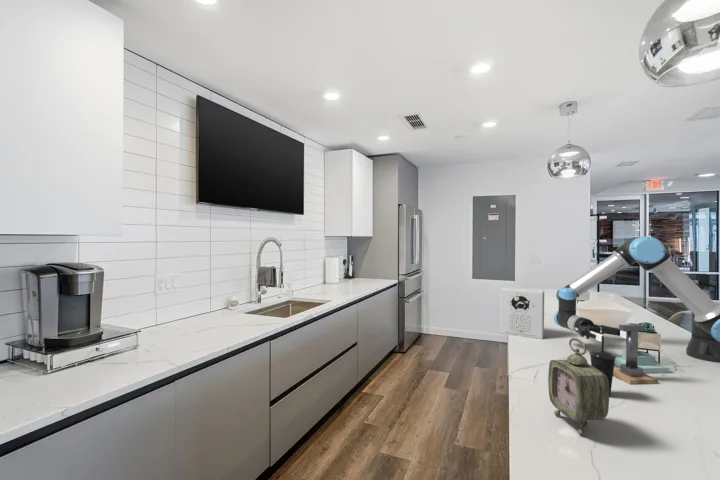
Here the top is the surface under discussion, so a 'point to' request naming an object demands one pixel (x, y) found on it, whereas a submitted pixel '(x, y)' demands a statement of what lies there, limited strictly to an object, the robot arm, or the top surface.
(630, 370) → the t key
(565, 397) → the tabletop clock
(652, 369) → the square socket base
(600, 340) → the robot arm
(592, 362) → the drinking cup
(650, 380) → the walnut pad
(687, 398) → the top surface
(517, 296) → the cereal box
